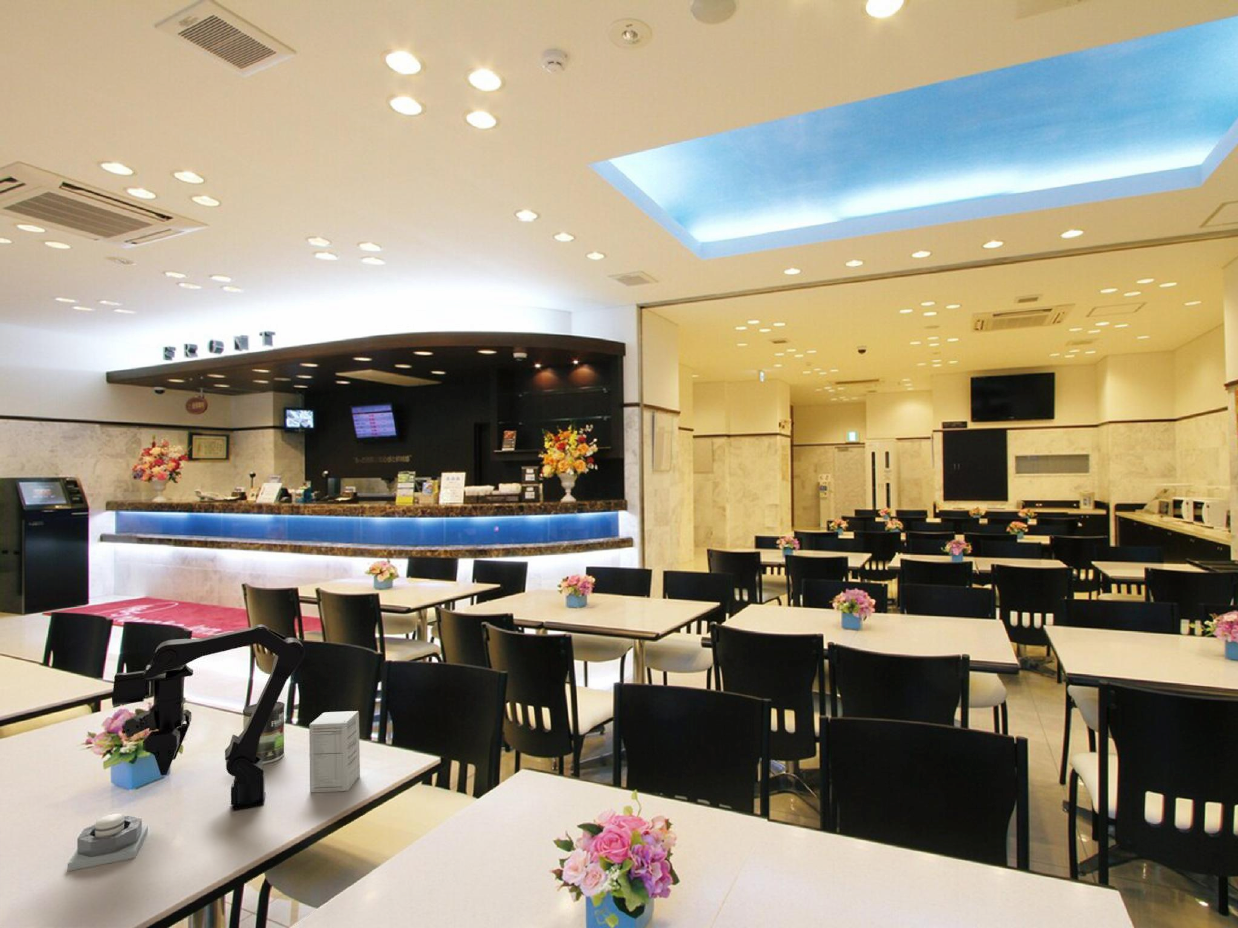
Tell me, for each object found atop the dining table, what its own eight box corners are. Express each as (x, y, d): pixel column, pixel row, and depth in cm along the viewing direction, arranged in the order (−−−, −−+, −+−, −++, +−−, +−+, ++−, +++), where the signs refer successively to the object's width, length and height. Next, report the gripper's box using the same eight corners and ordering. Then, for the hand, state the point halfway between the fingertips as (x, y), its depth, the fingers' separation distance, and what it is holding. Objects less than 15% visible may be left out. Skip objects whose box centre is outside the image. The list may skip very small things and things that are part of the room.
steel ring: (144, 826, 147) (144, 812, 147) (133, 848, 138) (133, 833, 138) (88, 836, 143) (88, 822, 143) (72, 860, 134) (72, 845, 134)
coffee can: (291, 750, 193) (291, 700, 194) (272, 765, 183) (272, 712, 183) (255, 750, 193) (255, 700, 194) (234, 765, 183) (234, 713, 183)
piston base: (147, 832, 147) (147, 802, 148) (134, 857, 137) (134, 825, 138) (85, 844, 143) (85, 813, 143) (67, 870, 133) (67, 837, 133)
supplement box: (361, 775, 175) (360, 710, 176) (347, 791, 166) (347, 722, 167) (323, 776, 175) (323, 711, 175) (308, 792, 166) (308, 723, 166)
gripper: (136, 691, 159) (136, 758, 158) (114, 715, 142) (113, 790, 141) (192, 684, 163) (191, 750, 163) (176, 707, 146) (176, 780, 146)
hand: (168, 766), depth 153 cm, fingers open, 9 cm apart
